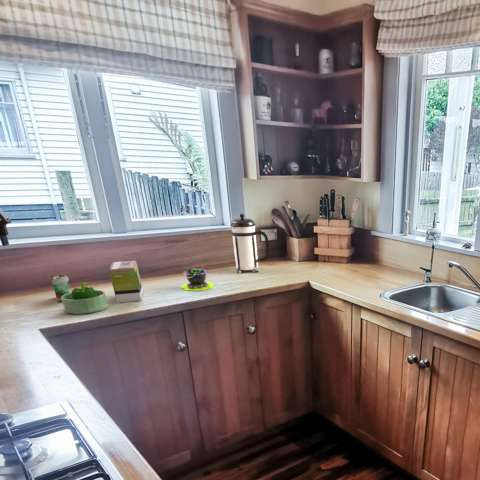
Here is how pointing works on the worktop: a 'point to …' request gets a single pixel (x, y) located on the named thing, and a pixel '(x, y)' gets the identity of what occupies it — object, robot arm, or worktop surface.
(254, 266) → the coffee press
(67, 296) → the bowl
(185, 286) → the toy cauldron
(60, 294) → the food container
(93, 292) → the bell pepper
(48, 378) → the worktop surface
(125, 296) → the tea box
